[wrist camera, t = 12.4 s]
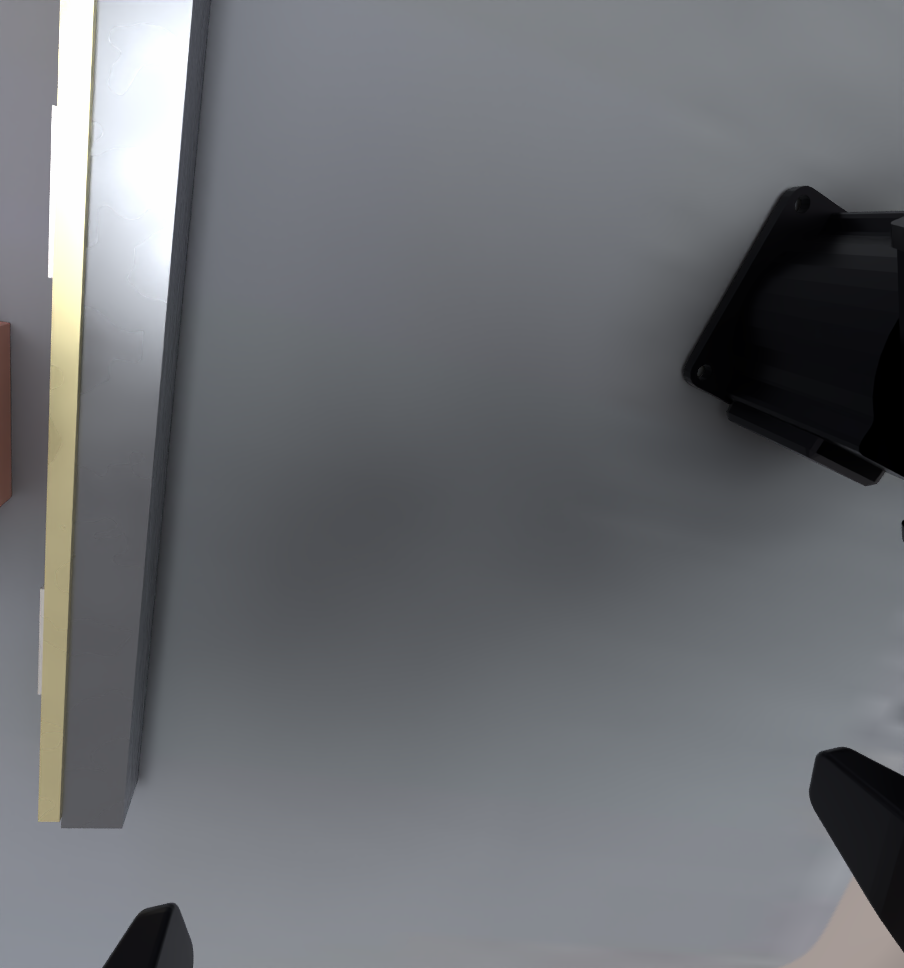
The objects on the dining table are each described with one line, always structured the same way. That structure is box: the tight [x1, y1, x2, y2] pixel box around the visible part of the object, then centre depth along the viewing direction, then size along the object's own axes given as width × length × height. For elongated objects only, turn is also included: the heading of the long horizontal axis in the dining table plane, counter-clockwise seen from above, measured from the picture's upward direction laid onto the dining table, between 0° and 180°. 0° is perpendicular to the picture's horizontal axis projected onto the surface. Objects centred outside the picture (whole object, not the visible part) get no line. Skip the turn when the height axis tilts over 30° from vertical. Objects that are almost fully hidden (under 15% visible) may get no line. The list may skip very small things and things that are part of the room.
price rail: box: [38, 0, 211, 828], centre depth 17 cm, size 3×26×2 cm, turn 167°
